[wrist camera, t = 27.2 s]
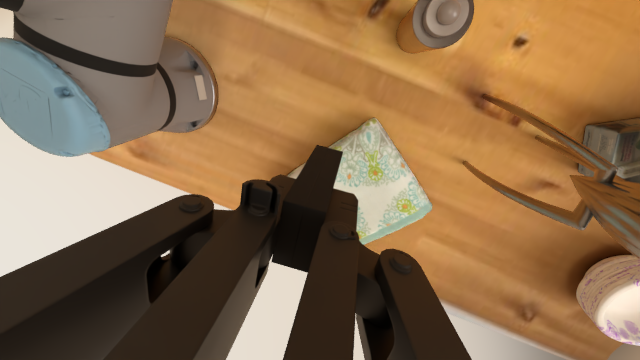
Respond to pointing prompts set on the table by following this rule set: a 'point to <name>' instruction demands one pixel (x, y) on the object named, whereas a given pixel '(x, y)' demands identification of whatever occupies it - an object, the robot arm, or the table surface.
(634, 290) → the paper bowls
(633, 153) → the beverage carton
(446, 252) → the table surface
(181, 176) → the table surface
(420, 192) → the towel
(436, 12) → the pepper mill
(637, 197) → the tripod lemon squeezer
